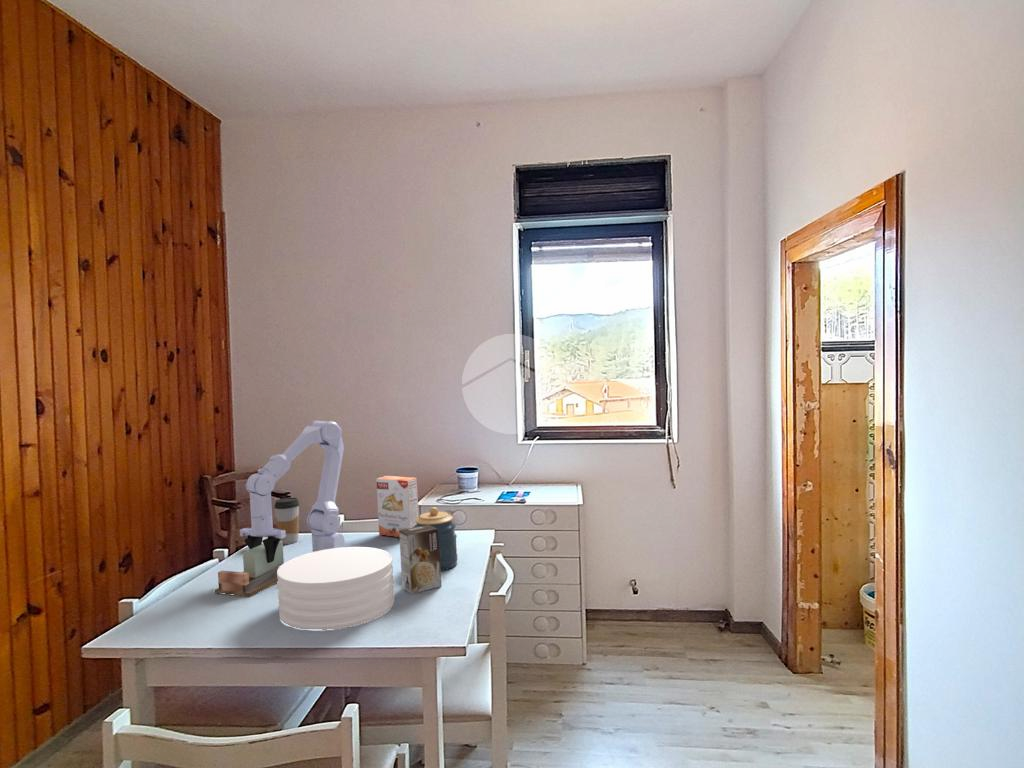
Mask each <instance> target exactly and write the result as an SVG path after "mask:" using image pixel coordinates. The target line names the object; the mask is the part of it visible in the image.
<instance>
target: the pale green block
mask: <svg viewBox="0 0 1024 768" xmlns="http://www.w3.org/2000/svg"><path fill="white" fill-rule="evenodd" d="M283 545H284V544H283V541H280V542H279V544H278V546H277V549H276V552H275V557H274V561H273V562H270V563H267V559H266V550H265V547H264V544H263V543H262V545H259V546H257V547H255V548H252V549H248V550H246V551H243V552H242V561H243V563H242V564H243V571H244V572H246V573H249V577H251V578H257V577H259V576H261V575H263V574H265V573H267V572H269V571H271V570H273V569H275V568H277V567H280V566H281V565H282V564H284V563H285V561H284V560H285V558H284V546H283Z"/></svg>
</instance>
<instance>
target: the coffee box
mask: <svg viewBox="0 0 1024 768" xmlns="http://www.w3.org/2000/svg"><path fill="white" fill-rule="evenodd" d="M398 540H399V550H400V551H399V553H400V571H401V587H402V589H403V588H404V589H403V590H404V591H406V590H407V591H406V592H408V593H409V594H410V595H414V594H413V593H415V594H417V592H418V593H421V591H422V592H425V590H426V591H428V590H429V591H430V590H433V589H436V588H441V587H442V571H441V568H440V552H439V535H438V529H437V528H435V527H433V526H430V525H424V526H419V527H414V528H409V529H404V530H399V539H398Z"/></svg>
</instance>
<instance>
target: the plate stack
mask: <svg viewBox="0 0 1024 768" xmlns="http://www.w3.org/2000/svg"><path fill="white" fill-rule="evenodd" d="M393 567H394V566H393V556H392V554H391V553H390V552H388V551H387V550H384V549H380V548H376V547H369V546H345V547H341V548H332V549H326V550H320V551H316V552H313V551H312V552H308V553H305V554H301V555H298V556H296V557H294V558H291V559H289V560H287V561H286V562H285V561H284V564H282V565H281V566H279V568H278V570H277V578H278V583H277V589H278V592H277V595H278V596H277V598H278V610H279V613H278V614H279V616H280V618H279V620H280V619H281V620H282V621H283V622H284V623H286V624H288V625H290V626H292V627H296V628H300V629H322V630H327V629H339V628H345V629H347V628H346V627H350V626H354V625H358V624H361V623H364V622H367V621H370V620H372V621H374V620H376V619H375V618H377V617H379V616H380V617H382V616H383V615H382V614H384V613H385V612H387V611H388V610H389V609H390V608H391V607H392V606H394V605H393V604H395V594H394V593H395V588H394V587H395V586H394V575H393V574H394V568H393ZM392 608H393V607H392ZM392 608H391V609H392ZM391 609H390V610H391ZM390 610H389V611H390ZM389 611H388V612H389ZM388 612H387V613H388ZM385 614H386V613H385ZM385 614H384V615H385ZM381 615H382V616H381ZM380 617H379V618H380ZM373 619H374V620H373ZM377 619H378V618H377ZM370 622H371V621H370ZM367 623H368V622H367ZM364 624H365V623H364ZM361 625H362V624H361ZM358 626H359V625H358ZM354 627H355V626H354ZM350 628H351V627H350ZM339 630H340V629H339Z"/></svg>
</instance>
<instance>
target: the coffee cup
mask: <svg viewBox="0 0 1024 768" xmlns="http://www.w3.org/2000/svg"><path fill="white" fill-rule="evenodd" d="M299 510H300V501H299V499H298V497H283V498H278V499H276V500H275V502H274V511H275V520H276V529H279V530H285V533H286V537H284V538H282V539H281V540H280V541H283V545H292V544H295V543H297V542H298V540H299V529H300V511H299Z"/></svg>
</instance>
